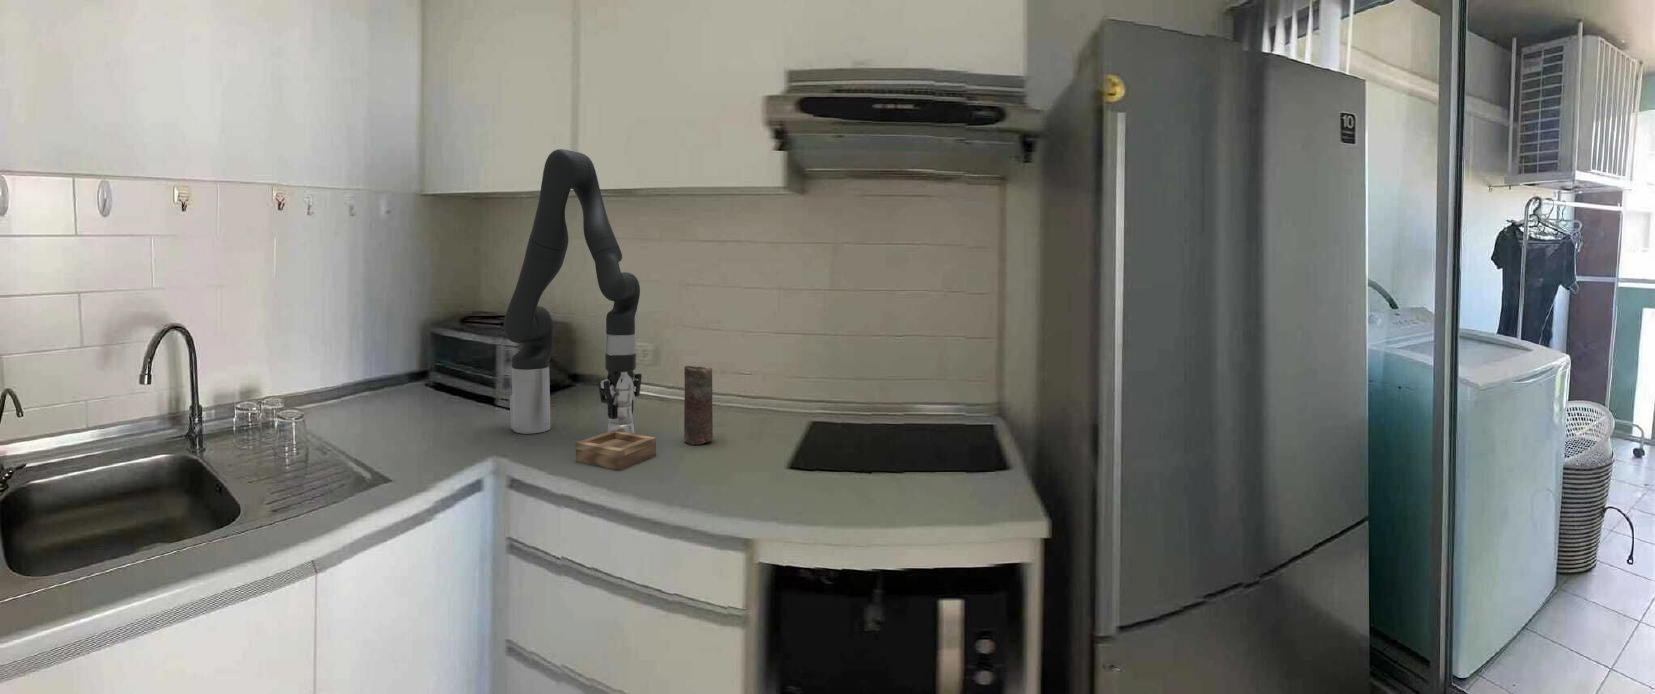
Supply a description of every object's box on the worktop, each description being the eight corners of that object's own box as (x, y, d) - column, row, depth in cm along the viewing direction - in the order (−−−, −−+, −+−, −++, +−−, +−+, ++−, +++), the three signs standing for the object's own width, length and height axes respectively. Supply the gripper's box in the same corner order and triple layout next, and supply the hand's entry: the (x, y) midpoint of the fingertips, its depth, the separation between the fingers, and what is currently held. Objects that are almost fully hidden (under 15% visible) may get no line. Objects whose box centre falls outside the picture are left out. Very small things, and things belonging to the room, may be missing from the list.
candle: (681, 438, 185) (681, 364, 182) (708, 436, 188) (709, 363, 185) (687, 446, 178) (688, 369, 175) (715, 444, 181) (716, 368, 178)
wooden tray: (575, 461, 163) (575, 442, 163) (614, 447, 175) (613, 430, 174) (619, 470, 158) (619, 451, 157) (656, 455, 170) (656, 437, 169)
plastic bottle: (627, 444, 177) (626, 367, 174) (602, 442, 179) (602, 365, 176) (638, 438, 184) (638, 363, 181) (615, 435, 185) (614, 361, 182)
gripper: (627, 346, 186) (627, 408, 188) (588, 353, 173) (589, 420, 175) (650, 349, 183) (650, 412, 185) (612, 356, 170) (612, 424, 172)
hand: (620, 415), depth 180 cm, fingers closed on plastic bottle, 5 cm apart
